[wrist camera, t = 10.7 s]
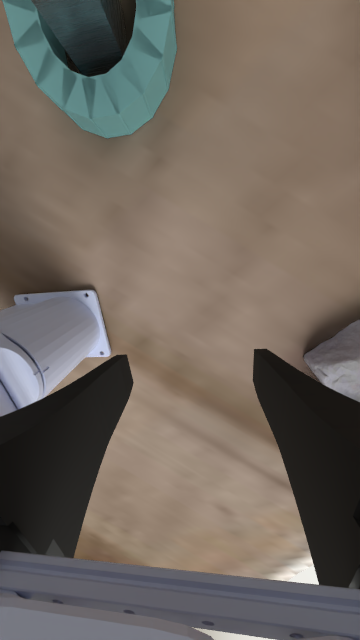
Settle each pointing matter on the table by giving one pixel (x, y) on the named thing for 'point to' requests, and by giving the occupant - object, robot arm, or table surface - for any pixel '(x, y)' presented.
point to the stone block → (339, 361)
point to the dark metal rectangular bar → (87, 31)
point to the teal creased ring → (107, 89)
